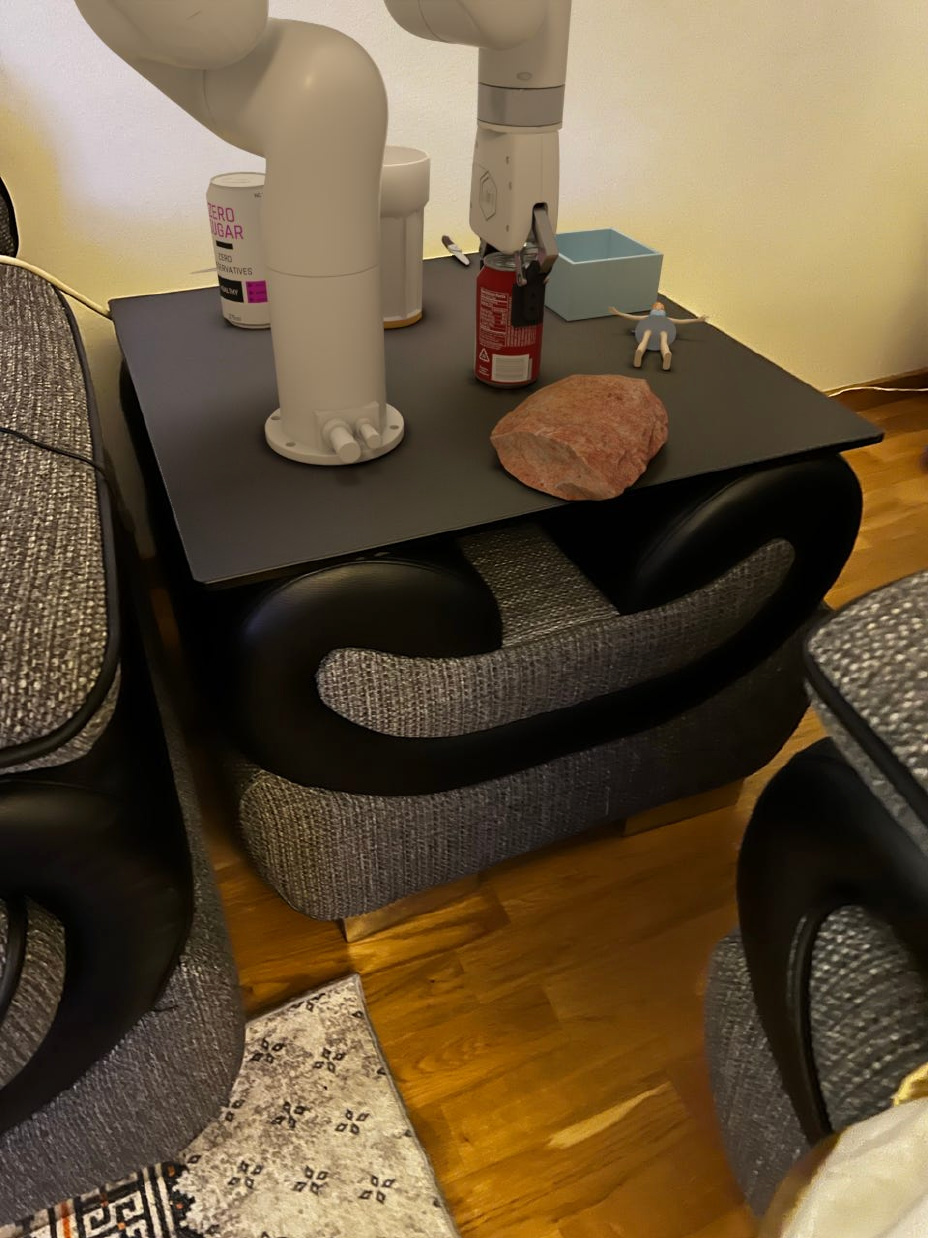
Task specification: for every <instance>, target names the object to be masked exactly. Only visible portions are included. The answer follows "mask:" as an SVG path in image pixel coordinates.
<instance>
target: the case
mask: <svg viewBox="0 0 928 1238" xmlns="http://www.w3.org/2000/svg"><path fill="white" fill-rule="evenodd" d="M555 240H556V243H557V246H558V250H559V256H558V258H557V259H556V261H555V263H554V264H553V267H552V271H551V272H550V274H549V281H548V283H547V284H546V294H545V306H546V307H547V308H549V309H550V310H551V311H553V312H554V313H555V314H557V315H558V316H559V317H561V318H562V319H564V320H565V321H566V322H572V321H578V320H587V319H595V318H600V317H601V318H602V317H608V316H615V315H614V314H612V313H608V312H610V311H611V310H609V309H610V308H611V307H613V308H615V309H616V310H617V312H620V313H623V314H632V313H639V312H646V311H652V310H651V309H652V308H653V307H654V305H655V303H656V302H658V301H657V300H658V295H659V289H660V281H661V274H662V269H663V268H662V267H663V261H664V255H665V253H662V252H660V251H659V250H657V249H655V248H653V247H651V246H649V245H648V244H645V243H643V242H641V241H639V240H638V239H635V238H634V237H632V236H630V235H628V234H626V233H624V232H623V231H621V230H619V229H617V228H614V227H613V226H610V227H609V226H608V227H600V228H588V229H579V230H569V231H559V232H556V237H555ZM530 247H536V246H535V245H533V244H532V243H530V242H527V243H525V248H530ZM608 307H610V308H608ZM607 308H608V309H607ZM613 308H611V309H613ZM607 310H609V311H607Z"/></svg>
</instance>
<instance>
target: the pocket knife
mask: <svg viewBox="0 0 928 1238" xmlns="http://www.w3.org/2000/svg"><path fill="white" fill-rule="evenodd" d="M453 239H454V238H453V237H451V236H450V235H447V234H443V235H442V236H441V243H442V244H443V246H444V248H445V249H446V250H447V251H448V252H449V253H450V254H452V255H454V256H455V257H456V258H457V259H458V260H460V261H461V262H462V263H463V264H465V266H467V265H469V264H470V261H469V259H468V258H467V257H466V255H464V253H463V249H462V248H461V247H459V245H458V244H457V243H455V242H454V240H453Z"/></svg>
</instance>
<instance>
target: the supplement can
mask: <svg viewBox="0 0 928 1238" xmlns="http://www.w3.org/2000/svg"><path fill="white" fill-rule="evenodd" d="M264 180H265V172H261V171H260V172H258V171H233V172H225V173H219V174H216V175H213V176H212V177H210V178H209V184H208V186H207V189H206V193H205V199H206V206H207V214H208V218H209V225H210V231H211V232H210V233H211V240H212V246H213V254H214V260H215V268H217V271H216V275H217V282H218V288H219V294H220V299H221V300H220V301H221V309H222V315H223V317H224V318H225V319H227V320H228V321H229V323H230V324H232V325H234V326H237V327H239V328H245V329H267V328H271V325H270V316H269V307H268V298H267V290H266V281H265V272H264V263H263V258H262V249H261V239H260V206H261V198H262V192H263V187H264Z"/></svg>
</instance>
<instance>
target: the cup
mask: <svg viewBox="0 0 928 1238" xmlns="http://www.w3.org/2000/svg"><path fill="white" fill-rule="evenodd" d="M430 185H431V155H430V153H429V152H428V151H426V150H425V149H422V148H419V147H414V146H410V145H404V144H403V145H401V144H400V145H399V144H391V143H386V148H385V155H384V162H383V169H382V179H381V193H380V244H381V269H382V297H383V325H384V330H387V329H389V330H390V329H398V328H403V327H404V328H405V327H407V326H411V325H412V324H415V323H416V322H419V320H420V319H421V318H422V316H423V315H422V313H423V274H424V273H423V272H424V270H423V269H424V229H425V228H424V227H425V225H424V224H425V208H426V206H427V204H428V203H429V202H430V192H431V191H430Z"/></svg>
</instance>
